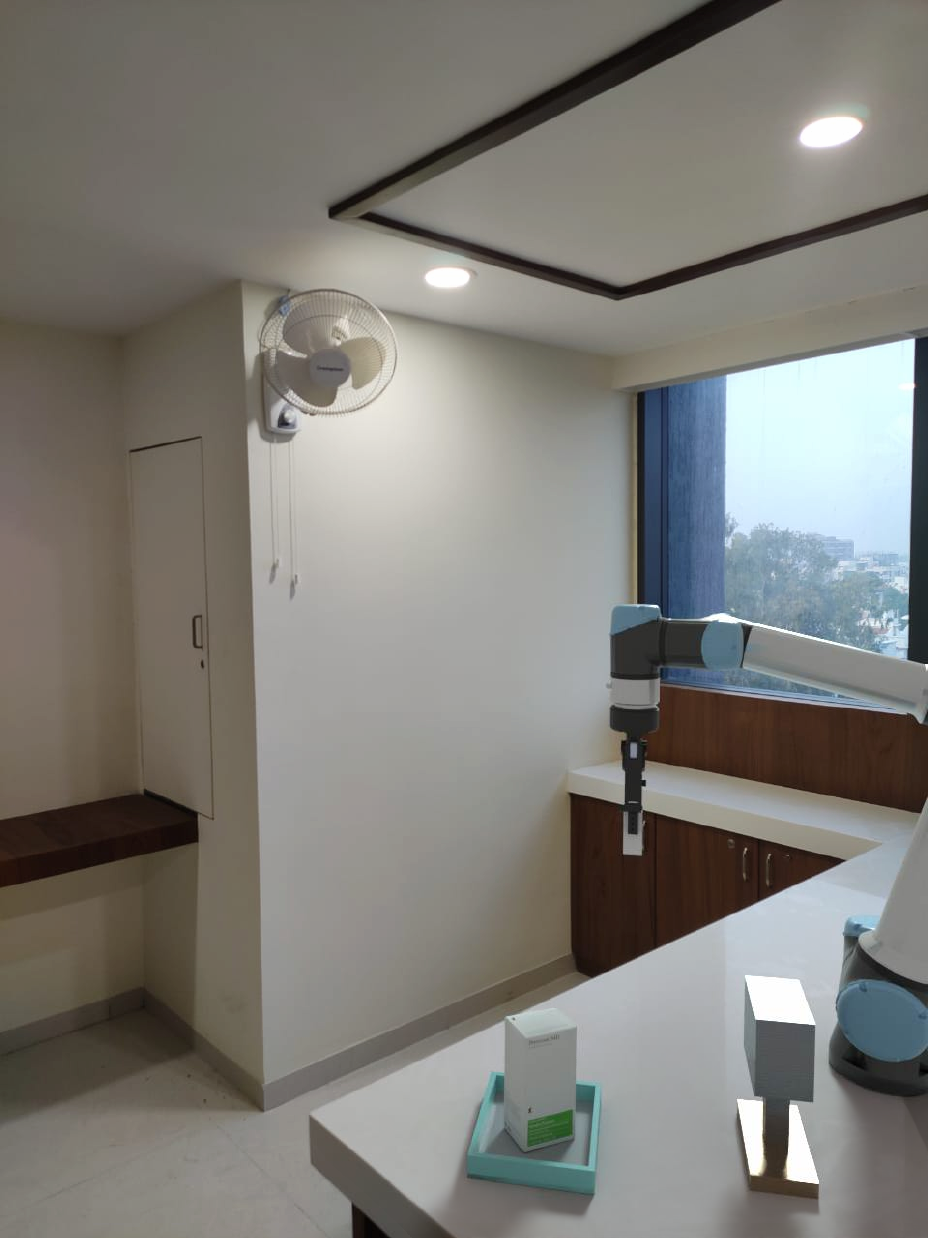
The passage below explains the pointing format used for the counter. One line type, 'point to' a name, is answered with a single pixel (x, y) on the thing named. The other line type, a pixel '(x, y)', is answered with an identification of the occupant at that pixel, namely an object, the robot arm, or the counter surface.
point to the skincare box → (540, 1078)
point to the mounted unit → (778, 1087)
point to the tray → (544, 1166)
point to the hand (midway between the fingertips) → (632, 840)
